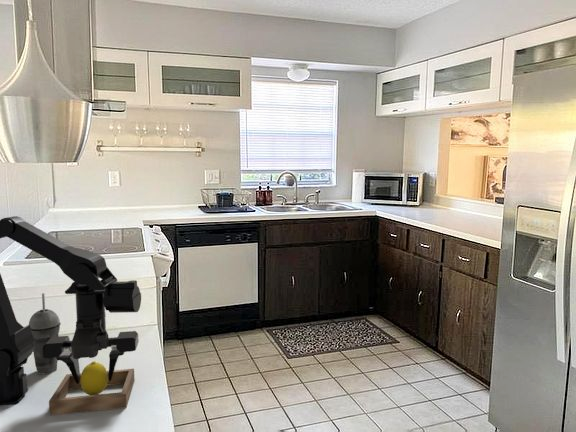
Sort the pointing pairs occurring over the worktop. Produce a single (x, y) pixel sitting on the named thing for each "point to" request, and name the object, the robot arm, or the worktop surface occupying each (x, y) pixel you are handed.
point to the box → (91, 402)
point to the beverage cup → (44, 337)
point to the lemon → (94, 378)
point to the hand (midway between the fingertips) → (94, 381)
